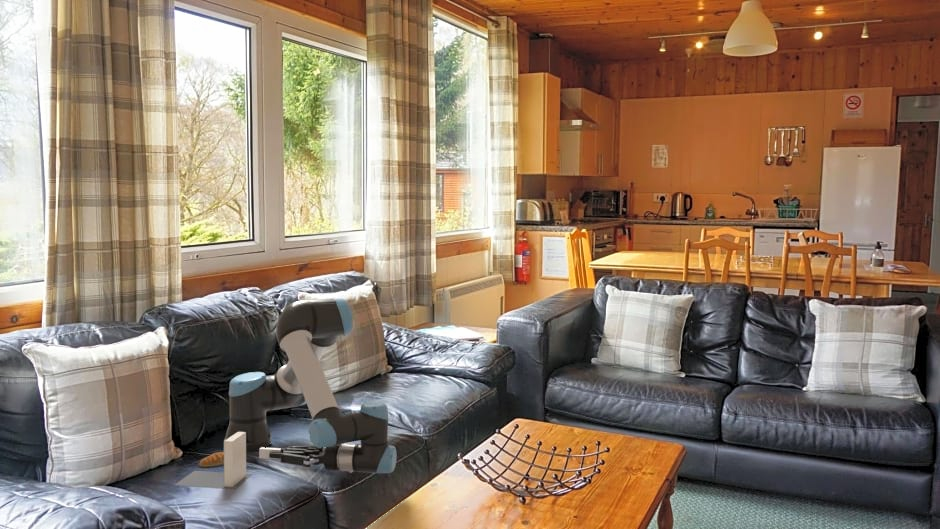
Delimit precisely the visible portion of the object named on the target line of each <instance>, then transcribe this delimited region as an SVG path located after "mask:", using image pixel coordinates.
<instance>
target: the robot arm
mask: <svg viewBox="0 0 940 529" xmlns="http://www.w3.org/2000/svg"><path fill="white" fill-rule="evenodd" d="M353 326H354V318H353V312H352V309H351V306H350V304H349V302H348V301H347V300H346V299H344V298H340V297H339V298H337V297H336V298H335V297H332V298H331V297H330V298H320V299H309V300H308V299H307V300H304V299H301V300H297V301H294V302H292V303H290V304H288V305H287V306H286V307H285V308H283V310H282V312H281V313H280V315H279V317H278V319H277V323H276V329H275V332H276V333H275V334H276V339H277V342H278V346H279V348H280V350H281V351H283V352H284V353H286V356H287V358H288V361H287V364H284V365H283V366H281V367H280V368H279V369H278V370H277V372H276V373H275V374H271V375H266V373H265V372H262V371H254V372H253V371H252V372H247V373H246V372H245V373H242V374H238V375H236V376H235V377H233V378H231V380H230V381H229V389H228V398H229V399H228V402H229V407H228V408H229V424H228V427H227V430H226V433H225V437H224V439H223V442H224V441H225V440H226V439H228V438H229V437H231V436H232V435H234V434H235V433H237V432H246V452H251V451H258V450H259V451H258V457H259V458H258V459H266V460H267V459H268V460H269V459H270V460H280V463H281V464H288V465H295V466H301V467H304V468H310V467H311V465H313V466H318V465H323V467H324V469H325V470H327V471H335V472H339V471H341V472H349V473H350V474H352V473H353V472H358V473H369V474H371V473H372V474H391V473H393V472H394V470H395V468H396V465H397V457H398V456H397V449H396V448H397V447H395V446H394V445H391V444H389V440H388V438H389V437H388V436H389V434H388V433H389V432H388V431H389V410H388V405H387V404H386V403H385V402H381V401H366V402H364V403H362V404H360V405H361V406H360V409H359V412H354V413H347V414H342V412H341V410H340V408H339V405H338V402H337V401H336V398H335V396H334V393H333V392H332V389H331V386H330V384H329V381H328V378H327V377H326V375H325V372H324V369H323V367H322V364H321V363H320V361H321V358H322V357H323V355H324V354H325V352H326V350H327V348H329V347H332V346H333V345H335V343H337V341H338V339H339V337H341V336H342V337H346V336H348V335H350V334H351V333H352V330H353ZM304 405H307V408H308V411H309V413H310V415H311V419H312V421H311V422H310V424H309V426H308V434H309V440H310V442H311V444H312V445H288V447H284V448H283V447H282V448H281V447H280V448H279V447H269V446H268V445H269V444H270V443H271V441H272V434H271V430H270V428H269V425H268V422H267V412H270V411H274V410H282V409H288V408H297V407H300V406H304ZM358 441H360V443H354V442H358ZM271 444H272V443H271ZM266 446H268V447H266ZM265 447H266V448H265Z"/></svg>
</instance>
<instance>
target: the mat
mask: <svg viewBox="0 0 940 529" xmlns="http://www.w3.org/2000/svg"><path fill="white" fill-rule="evenodd" d="M251 476H253V474H251V473H246V476H245V477H244V478H243V479H242V480H240V481H239V482H238V483H237V484H236V485H234V486H233V487H227V486H225V483H224V471H204V470H194V471H192V472H191V473H189V474H188V475H186V476H185V477H183V478H182V479H181V480H179V481H178V482H176V483H174V486H176V487H177V486H178V487H179V486H180V487H194V488H195V487H196V488H209V489H225V490H237V488H238V487H240V486H241V485H242V484H243V483H244V482H245V481H247V480H248V479H249V478H250V477H251Z"/></svg>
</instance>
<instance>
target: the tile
mask: <svg viewBox="0 0 940 529" xmlns="http://www.w3.org/2000/svg"><path fill="white" fill-rule="evenodd" d="M223 451H224V465H223V472H224V483H225V486H227V487H233V486H234V485H236V484H237V483H238V482H239V481H240V480H242V479H243V478H244V477H245V476H246V474H247V451H246V432H237V433H235V434H234V435H232V436H231V437H229V438H228V439H226V440H225V441H224V440H223Z"/></svg>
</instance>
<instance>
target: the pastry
mask: <svg viewBox="0 0 940 529" xmlns="http://www.w3.org/2000/svg"><path fill="white" fill-rule="evenodd" d="M218 466H219V467H220V466H224V450H223V451H218V452H214V453H212V454H210V455H209V456H205V457H204V458H202V459H200V461H199V463H198V467H201V468H208V467H209V468H211V467H218Z"/></svg>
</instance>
